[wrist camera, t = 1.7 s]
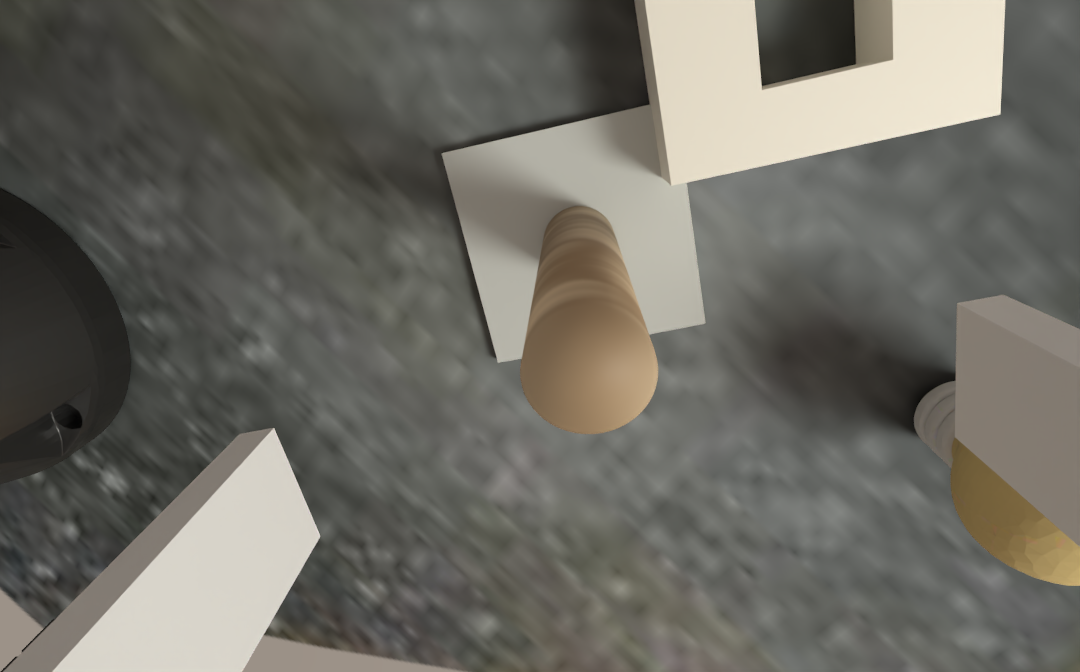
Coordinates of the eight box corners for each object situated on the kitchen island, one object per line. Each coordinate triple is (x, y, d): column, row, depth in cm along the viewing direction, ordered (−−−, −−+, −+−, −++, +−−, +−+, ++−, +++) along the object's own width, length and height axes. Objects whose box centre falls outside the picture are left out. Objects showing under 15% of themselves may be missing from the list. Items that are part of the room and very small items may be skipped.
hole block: (660, 176, 26) (671, 185, 24) (620, -90, 23) (628, -116, 20) (951, 112, 25) (1000, 114, 22) (956, -182, 22) (1014, -223, 19)
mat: (498, 359, 30) (498, 362, 30) (443, 152, 26) (441, 153, 26) (703, 320, 29) (705, 323, 28) (673, 98, 25) (675, 98, 25)
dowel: (551, 282, 28) (537, 444, 15) (536, 214, 27) (506, 324, 14) (620, 268, 28) (667, 421, 15) (608, 199, 26) (646, 296, 13)
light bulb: (852, 413, 30) (979, 554, 21) (962, 322, 28) (1156, 433, 19) (933, 486, 31) (1086, 649, 22) (1043, 403, 30) (1262, 544, 20)
